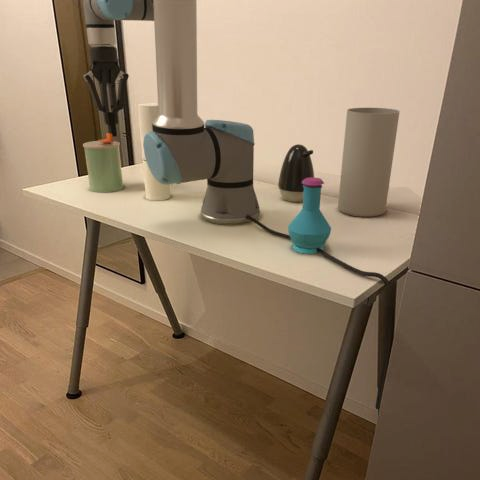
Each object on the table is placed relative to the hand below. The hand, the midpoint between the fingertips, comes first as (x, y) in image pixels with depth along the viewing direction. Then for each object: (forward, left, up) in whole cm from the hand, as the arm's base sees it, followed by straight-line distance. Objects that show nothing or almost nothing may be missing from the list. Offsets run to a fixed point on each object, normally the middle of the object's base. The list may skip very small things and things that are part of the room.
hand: (113, 135), depth 151 cm
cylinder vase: (-60, -45, -15) cm, 77 cm away
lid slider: (0, +2, -1) cm, 3 cm away
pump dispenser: (-42, -37, -15) cm, 58 cm away
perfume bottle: (-74, -15, -15) cm, 77 cm away
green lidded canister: (0, +4, -15) cm, 16 cm away
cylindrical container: (-18, -5, -15) cm, 24 cm away
